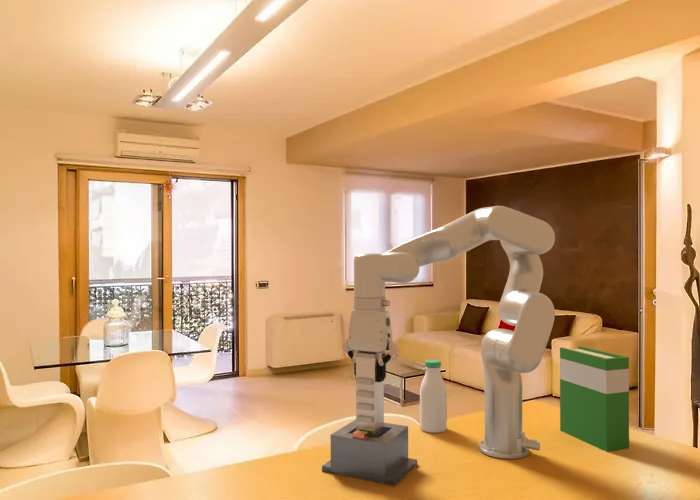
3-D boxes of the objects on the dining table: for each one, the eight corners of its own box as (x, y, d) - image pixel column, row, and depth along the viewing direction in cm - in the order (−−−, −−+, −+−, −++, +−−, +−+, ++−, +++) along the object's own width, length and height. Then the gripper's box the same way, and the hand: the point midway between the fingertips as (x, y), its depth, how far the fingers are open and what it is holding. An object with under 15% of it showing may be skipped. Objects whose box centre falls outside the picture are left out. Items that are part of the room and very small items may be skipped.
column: (383, 441, 134) (383, 351, 134) (373, 449, 129) (373, 355, 129) (365, 438, 137) (365, 349, 137) (354, 445, 132) (354, 353, 132)
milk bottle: (446, 434, 157) (445, 363, 157) (418, 432, 159) (418, 363, 159) (447, 425, 165) (446, 358, 165) (421, 424, 166) (420, 357, 166)
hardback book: (560, 430, 160) (559, 347, 160) (581, 427, 162) (580, 346, 162) (606, 451, 143) (606, 359, 143) (629, 448, 145) (628, 357, 145)
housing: (417, 464, 135) (417, 423, 135) (394, 486, 123) (394, 441, 123) (349, 451, 144) (349, 413, 144) (321, 470, 132) (321, 428, 132)
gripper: (408, 304, 133) (408, 380, 133) (345, 301, 141) (346, 373, 141) (396, 307, 126) (396, 387, 126) (331, 304, 134) (331, 379, 134)
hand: (369, 379), depth 133 cm, fingers closed on column, 5 cm apart
